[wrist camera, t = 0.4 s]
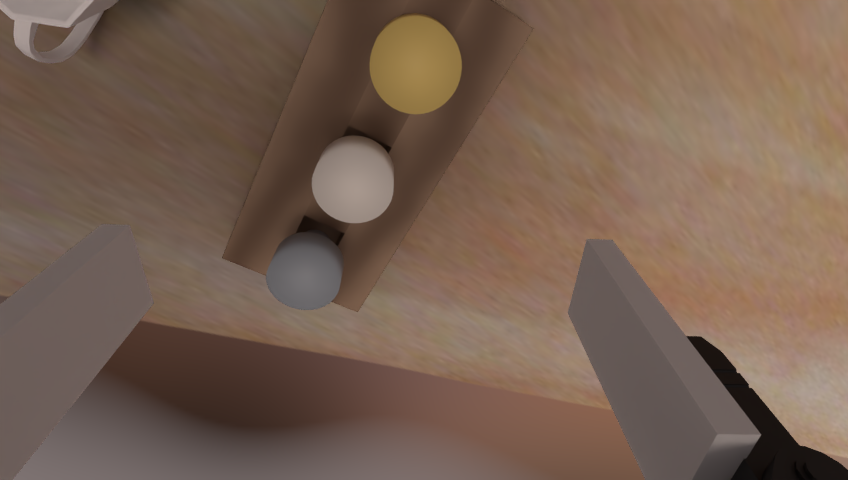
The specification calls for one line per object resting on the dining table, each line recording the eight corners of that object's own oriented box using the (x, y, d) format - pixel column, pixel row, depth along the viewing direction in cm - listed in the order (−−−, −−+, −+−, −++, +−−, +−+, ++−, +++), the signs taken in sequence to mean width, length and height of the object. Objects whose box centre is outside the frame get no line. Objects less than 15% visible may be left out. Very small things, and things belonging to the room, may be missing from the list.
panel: (233, 239, 39) (221, 258, 37) (366, -81, 28) (363, -86, 26) (360, 291, 43) (357, 312, 40) (523, 24, 32) (533, 28, 29)
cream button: (313, 171, 33) (299, 202, 28) (341, 110, 31) (331, 133, 26) (375, 200, 34) (371, 235, 30) (407, 144, 32) (408, 172, 28)
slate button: (273, 254, 36) (255, 293, 32) (297, 204, 34) (281, 239, 30) (331, 278, 38) (322, 319, 33) (358, 231, 36) (351, 269, 31)
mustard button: (361, 69, 30) (354, 86, 25) (397, -7, 27) (396, -3, 23) (428, 107, 31) (432, 129, 27) (467, 37, 29) (479, 49, 24)
